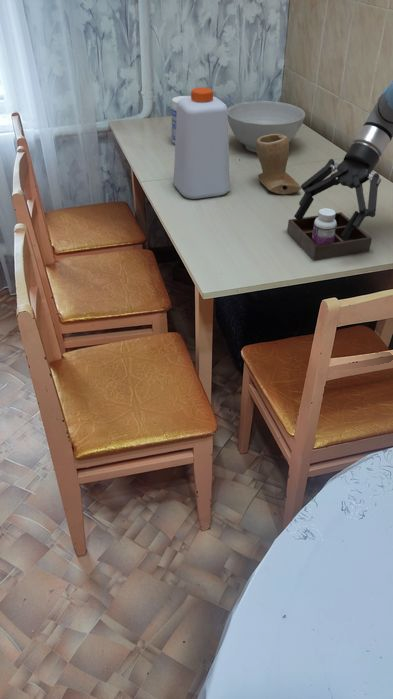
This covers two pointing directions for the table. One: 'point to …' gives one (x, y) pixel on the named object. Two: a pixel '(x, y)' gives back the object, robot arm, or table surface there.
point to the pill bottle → (324, 227)
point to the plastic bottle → (201, 146)
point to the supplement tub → (175, 115)
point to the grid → (339, 247)
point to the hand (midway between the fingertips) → (319, 228)
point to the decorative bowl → (264, 120)
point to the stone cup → (275, 164)
